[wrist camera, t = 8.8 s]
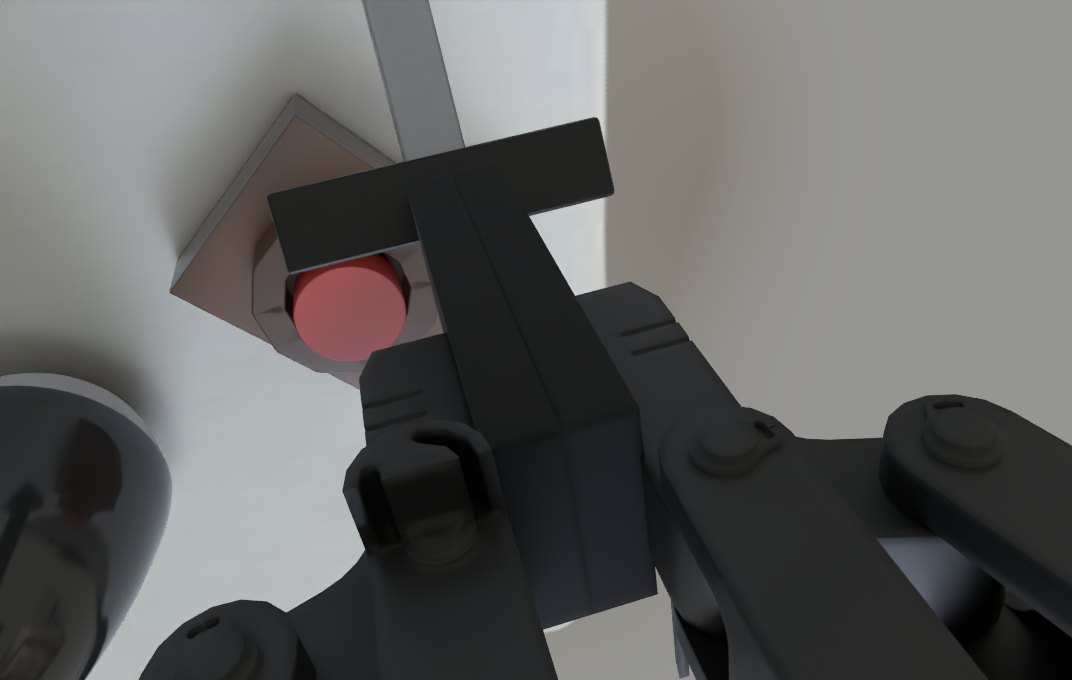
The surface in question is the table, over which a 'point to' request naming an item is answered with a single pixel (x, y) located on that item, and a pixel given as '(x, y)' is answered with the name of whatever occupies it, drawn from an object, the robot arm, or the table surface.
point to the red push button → (349, 308)
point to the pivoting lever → (427, 156)
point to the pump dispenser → (72, 522)
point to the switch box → (254, 251)
